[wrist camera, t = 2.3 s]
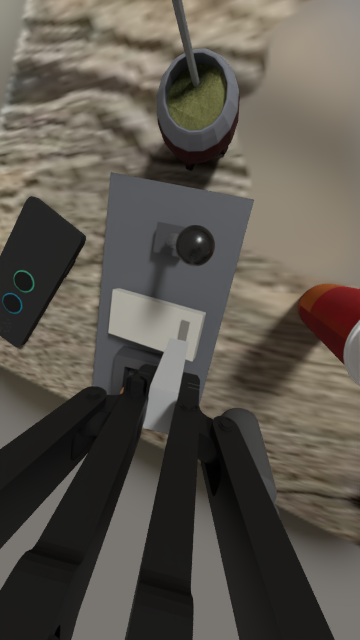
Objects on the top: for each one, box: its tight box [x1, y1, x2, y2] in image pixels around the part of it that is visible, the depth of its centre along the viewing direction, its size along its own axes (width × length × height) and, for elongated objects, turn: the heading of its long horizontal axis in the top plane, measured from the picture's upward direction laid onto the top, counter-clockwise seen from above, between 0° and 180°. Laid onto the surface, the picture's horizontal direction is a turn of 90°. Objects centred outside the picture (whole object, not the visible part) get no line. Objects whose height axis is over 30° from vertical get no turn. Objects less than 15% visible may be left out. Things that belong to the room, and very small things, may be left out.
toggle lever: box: [165, 225, 215, 266], centre depth 17 cm, size 2×2×10 cm
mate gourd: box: [157, 0, 240, 171], centre depth 18 cm, size 8×8×15 cm
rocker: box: [108, 288, 206, 361], centre depth 25 cm, size 10×5×1 cm, turn 79°
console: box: [92, 172, 254, 404], centre depth 28 cm, size 14×26×8 cm, turn 169°
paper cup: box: [299, 284, 360, 386], centre depth 22 cm, size 8×8×14 cm
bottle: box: [222, 408, 280, 518], centre depth 28 cm, size 6×6×15 cm
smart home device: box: [0, 196, 86, 347], centre depth 32 cm, size 8×2×20 cm
